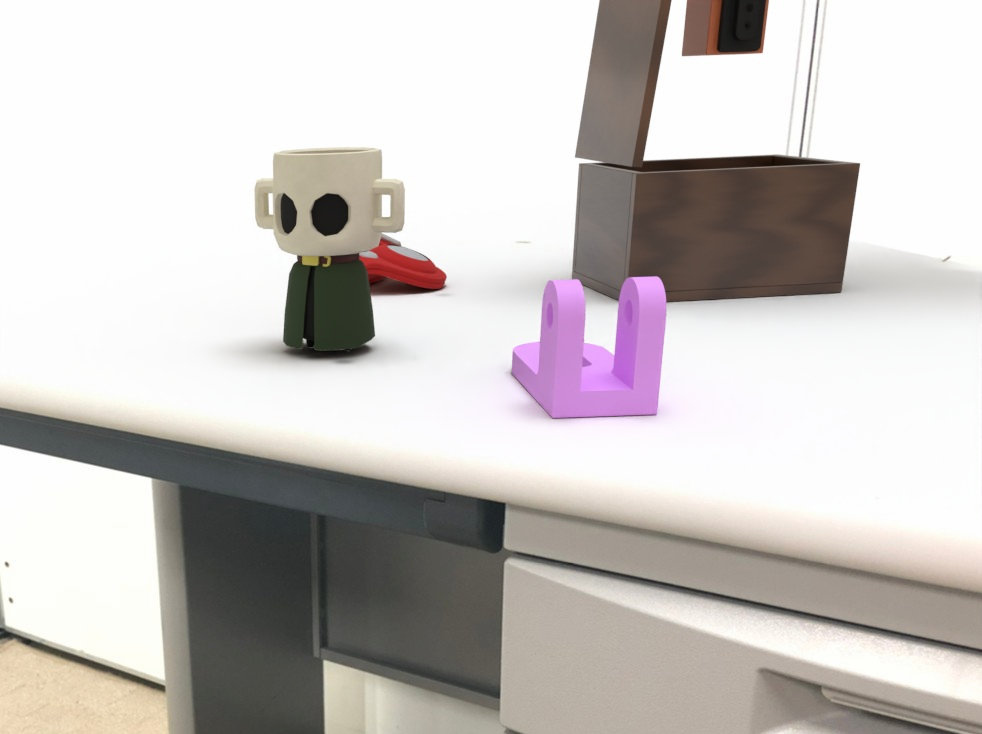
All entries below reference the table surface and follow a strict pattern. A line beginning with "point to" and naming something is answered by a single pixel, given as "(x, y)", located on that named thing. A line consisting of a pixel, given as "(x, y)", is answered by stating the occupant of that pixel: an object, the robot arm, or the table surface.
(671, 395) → the table surface
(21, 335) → the table surface
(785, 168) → the walnut box
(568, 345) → the bracket
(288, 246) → the character mug
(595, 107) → the lid
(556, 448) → the table surface
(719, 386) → the table surface
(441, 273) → the tracker holder
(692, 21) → the block
